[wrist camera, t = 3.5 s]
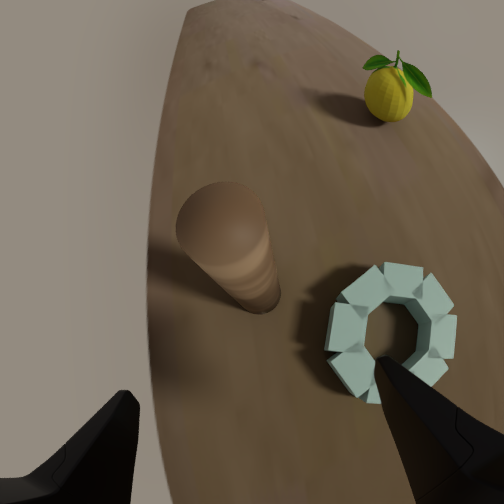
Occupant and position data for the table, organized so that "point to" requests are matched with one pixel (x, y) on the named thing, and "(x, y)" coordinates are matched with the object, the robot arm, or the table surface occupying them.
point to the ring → (400, 292)
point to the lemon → (392, 88)
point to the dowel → (231, 243)
